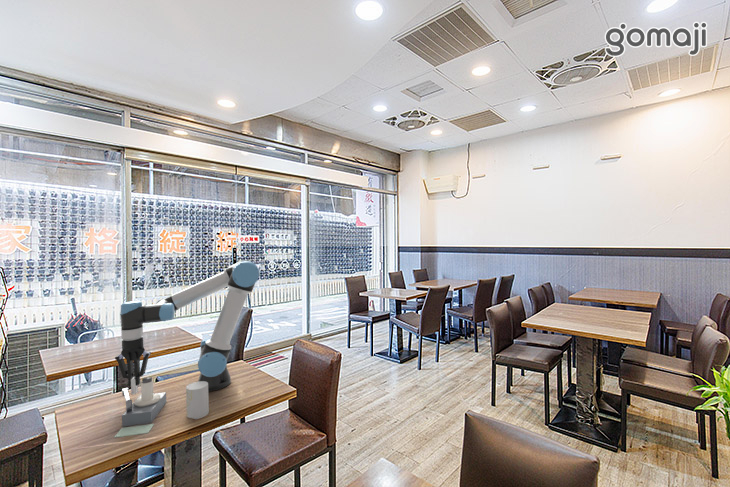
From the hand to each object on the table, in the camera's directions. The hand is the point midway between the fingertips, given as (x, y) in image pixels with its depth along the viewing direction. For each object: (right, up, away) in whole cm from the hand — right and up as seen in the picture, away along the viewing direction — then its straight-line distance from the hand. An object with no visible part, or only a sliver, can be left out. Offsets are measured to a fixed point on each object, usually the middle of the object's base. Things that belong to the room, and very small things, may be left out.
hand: (134, 392), depth 143 cm
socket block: (+7, -7, -4) cm, 11 cm away
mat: (+12, -7, -17) cm, 22 cm away
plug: (+8, -7, -3) cm, 11 cm away
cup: (+29, -7, -4) cm, 30 cm away
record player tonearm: (+1, -2, -6) cm, 6 cm away
